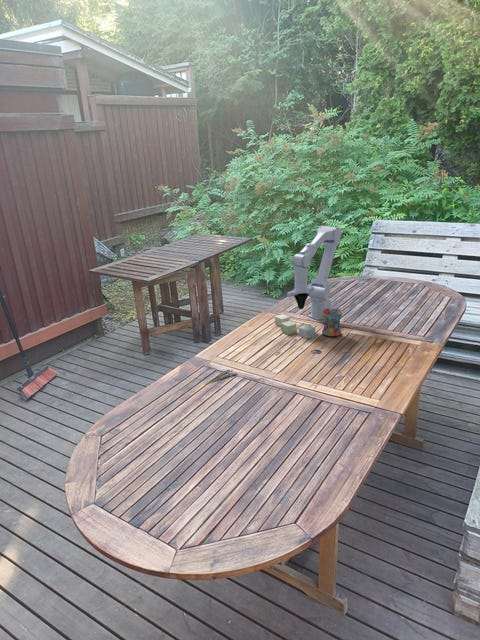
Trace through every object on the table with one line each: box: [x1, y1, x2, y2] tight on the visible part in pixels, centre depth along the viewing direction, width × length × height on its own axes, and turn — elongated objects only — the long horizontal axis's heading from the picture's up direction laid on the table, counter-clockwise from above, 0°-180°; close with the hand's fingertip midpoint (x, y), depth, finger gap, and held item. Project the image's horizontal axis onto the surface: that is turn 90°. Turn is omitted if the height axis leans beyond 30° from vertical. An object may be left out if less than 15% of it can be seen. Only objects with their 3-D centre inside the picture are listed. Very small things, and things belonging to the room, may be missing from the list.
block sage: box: [280, 320, 297, 335], centre depth 208 cm, size 5×5×4 cm
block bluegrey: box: [298, 324, 316, 340], centre depth 202 cm, size 5×5×4 cm
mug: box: [321, 307, 344, 337], centre depth 202 cm, size 12×9×11 cm
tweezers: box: [204, 369, 238, 386], centre depth 169 cm, size 17×5×2 cm, turn 130°
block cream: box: [274, 313, 291, 327], centre depth 216 cm, size 5×5×4 cm
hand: (301, 308), depth 211 cm, fingers closed
